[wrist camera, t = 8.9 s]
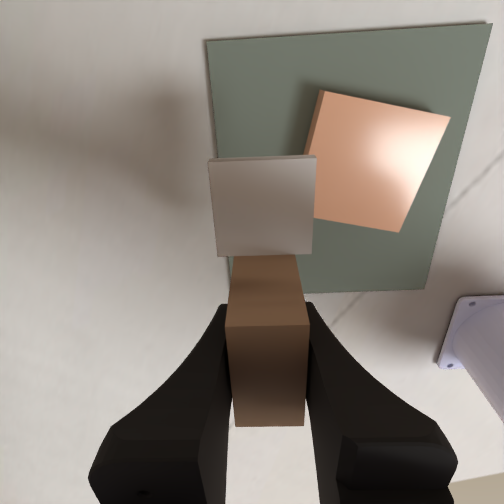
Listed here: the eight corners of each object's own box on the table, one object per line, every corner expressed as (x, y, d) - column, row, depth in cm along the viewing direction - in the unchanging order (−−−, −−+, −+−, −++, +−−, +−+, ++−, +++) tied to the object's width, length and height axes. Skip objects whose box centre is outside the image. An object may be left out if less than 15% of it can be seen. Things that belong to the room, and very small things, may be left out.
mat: (488, 24, 17) (493, 23, 17) (421, 286, 25) (424, 289, 25) (207, 42, 18) (206, 41, 17) (232, 293, 26) (232, 296, 25)
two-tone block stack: (305, 333, 16) (322, 425, 12) (227, 334, 17) (217, 427, 12) (314, 154, 12) (346, 198, 8) (209, 158, 12) (183, 203, 8)
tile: (388, 220, 22) (434, 113, 19) (398, 232, 21) (451, 117, 17) (290, 203, 22) (319, 89, 18) (292, 214, 20) (325, 91, 17)
